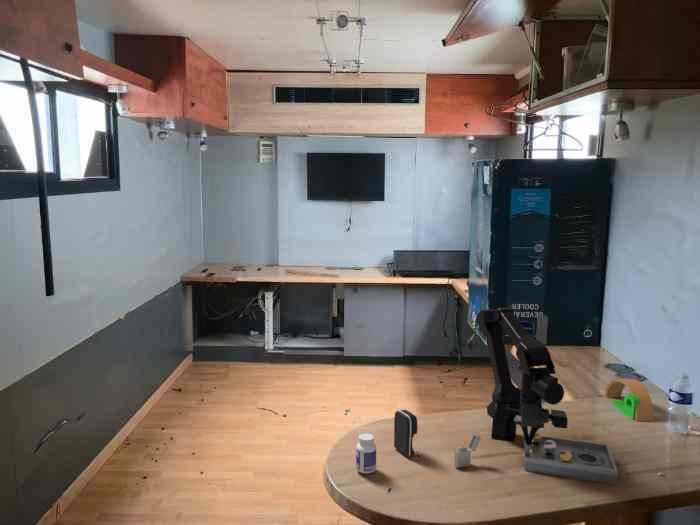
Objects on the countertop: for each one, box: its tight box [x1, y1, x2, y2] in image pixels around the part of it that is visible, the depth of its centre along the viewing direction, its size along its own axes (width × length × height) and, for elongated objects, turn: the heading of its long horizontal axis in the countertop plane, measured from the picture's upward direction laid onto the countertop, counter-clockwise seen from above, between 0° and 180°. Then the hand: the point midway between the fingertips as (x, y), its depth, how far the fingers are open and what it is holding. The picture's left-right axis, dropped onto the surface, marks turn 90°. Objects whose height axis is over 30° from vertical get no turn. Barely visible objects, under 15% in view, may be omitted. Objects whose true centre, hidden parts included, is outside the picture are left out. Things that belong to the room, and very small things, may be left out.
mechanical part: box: [611, 393, 640, 421], centre depth 177 cm, size 12×6×8 cm, turn 4°
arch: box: [604, 378, 655, 422], centre depth 180 cm, size 6×20×10 cm, turn 2°
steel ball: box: [544, 440, 557, 453], centre depth 144 cm, size 3×3×3 cm
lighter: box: [453, 433, 482, 469], centre depth 142 cm, size 7×2×8 cm, turn 111°
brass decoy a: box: [532, 430, 543, 443], centre depth 150 cm, size 3×3×3 cm
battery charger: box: [393, 409, 418, 457], centre depth 149 cm, size 7×4×11 cm, turn 30°
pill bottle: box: [355, 433, 377, 474], centre depth 139 cm, size 5×5×9 cm
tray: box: [523, 433, 619, 486], centre depth 143 cm, size 22×15×4 cm
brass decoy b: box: [559, 450, 573, 463], centre depth 139 cm, size 3×3×3 cm
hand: (528, 444), depth 146 cm, fingers closed
